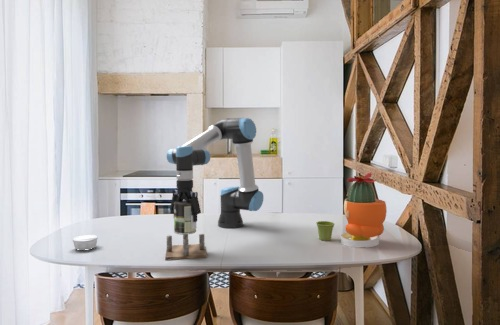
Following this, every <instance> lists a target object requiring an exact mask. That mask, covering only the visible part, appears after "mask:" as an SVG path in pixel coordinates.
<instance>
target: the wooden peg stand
mask: <svg viewBox="0 0 500 325" xmlns="http://www.w3.org/2000/svg"><path fill="white" fill-rule="evenodd" d="M172 237H173V236H172V235H167V236H166V250H165V256H164V257H165V258H164V259H165V261H167V260H166V259H174V260H186V259H185V258H192V259H206V258H207V252H206V251H207V250H206V247H205V246H206V245H205V243H206V242H205V234H204V233H200V234H198V238H199V242H198V243H194V244H193V243H191V244H189V234H187V235H182V244H177V245H176V244H174V245H173V238H172Z"/></svg>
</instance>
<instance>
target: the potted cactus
mask: <svg viewBox="0 0 500 325" xmlns="http://www.w3.org/2000/svg"><path fill="white" fill-rule="evenodd" d="M372 175H373V174H372V173H369V172H367V173H366V174H365V175H362V176H360V175H358V176H356V175H354V176H351V177H348V179H347V178H346V182H348V183H351V184H350V185H351V186H349V189H347V192H346V193H347V194H346V198H345V199H344V202H343V212H344V216H345V219H346V220H347V224H346V225H345V226H344V227H345V229H344V230H345V231H346V232H344V233H342V234H341V238H340V240H341V242H340V243H341V245H344V246H345V245H346V247H350V248H356V247H366V248H372V247H376V246H378V245H379V244H380V236H381V235H382V234H383V233H384V230H385V228H384V222H385V220H386V217H387V202H386V201H385V200H382V199H378V198H376V197H377V195H376V192H375V189H374V187H373V183H375V182H376V181H377V179H373V178H372V179H370V178H371V177H372ZM349 238H351V239H349Z"/></svg>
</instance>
